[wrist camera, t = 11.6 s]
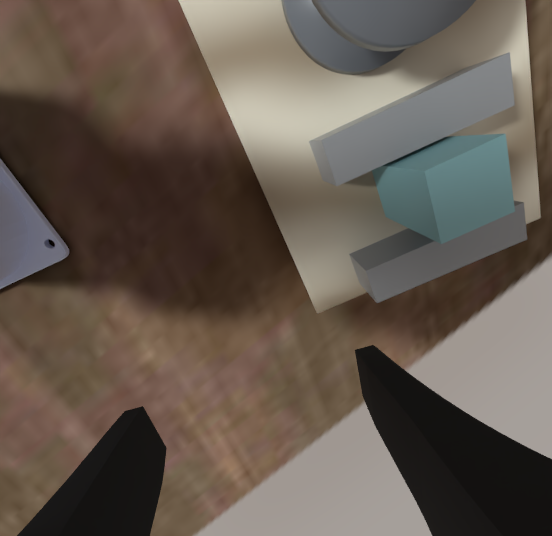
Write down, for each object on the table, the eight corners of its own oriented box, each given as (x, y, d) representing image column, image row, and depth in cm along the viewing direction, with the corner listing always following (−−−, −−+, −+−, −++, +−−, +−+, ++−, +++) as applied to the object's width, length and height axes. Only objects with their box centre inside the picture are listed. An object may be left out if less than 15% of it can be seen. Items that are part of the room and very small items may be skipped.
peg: (369, 163, 15) (424, 171, 11) (425, 137, 15) (505, 133, 10) (385, 216, 16) (441, 244, 12) (437, 193, 16) (514, 211, 12)
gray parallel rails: (308, 141, 15) (321, 140, 12) (466, 67, 14) (509, 51, 12) (359, 283, 18) (376, 303, 15) (489, 227, 17) (527, 239, 15)
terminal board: (31, -332, 10) (-4, -411, 8) (438, -583, 9) (474, -717, 8) (312, 302, 20) (317, 313, 18) (518, 212, 19) (540, 217, 17)
